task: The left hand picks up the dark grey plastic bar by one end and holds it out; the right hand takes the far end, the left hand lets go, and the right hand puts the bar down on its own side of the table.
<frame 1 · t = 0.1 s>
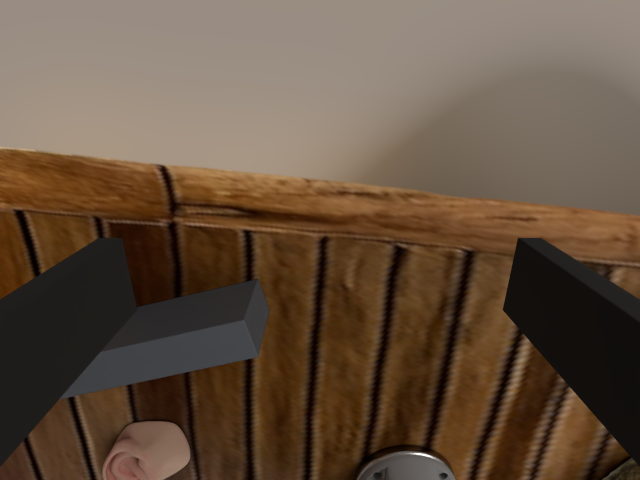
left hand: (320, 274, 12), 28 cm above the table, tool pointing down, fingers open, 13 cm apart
anatomical model: (150, 450, 54), on the table
bar: (167, 316, 45), on the table
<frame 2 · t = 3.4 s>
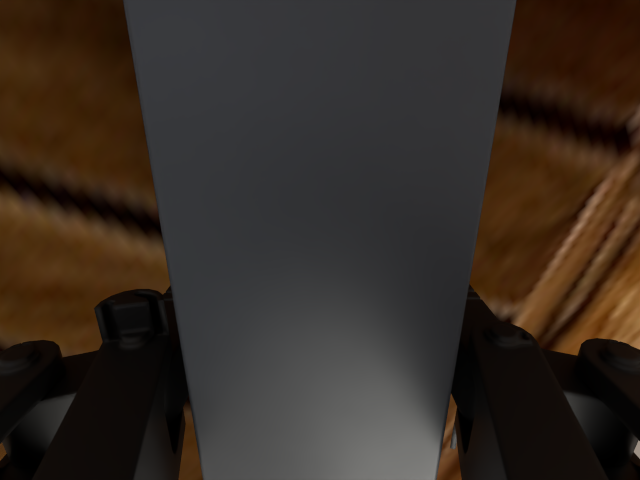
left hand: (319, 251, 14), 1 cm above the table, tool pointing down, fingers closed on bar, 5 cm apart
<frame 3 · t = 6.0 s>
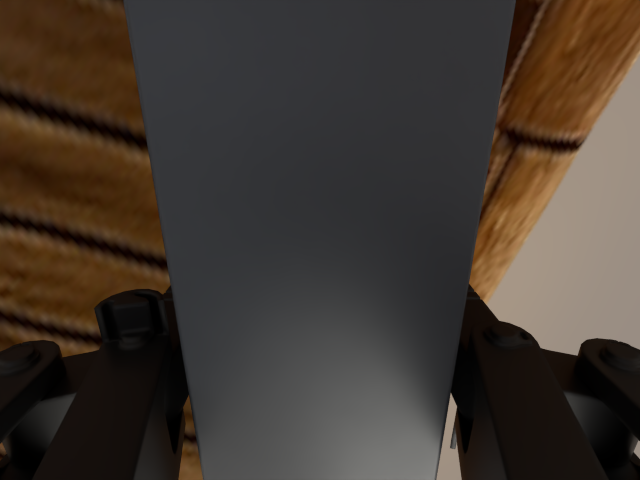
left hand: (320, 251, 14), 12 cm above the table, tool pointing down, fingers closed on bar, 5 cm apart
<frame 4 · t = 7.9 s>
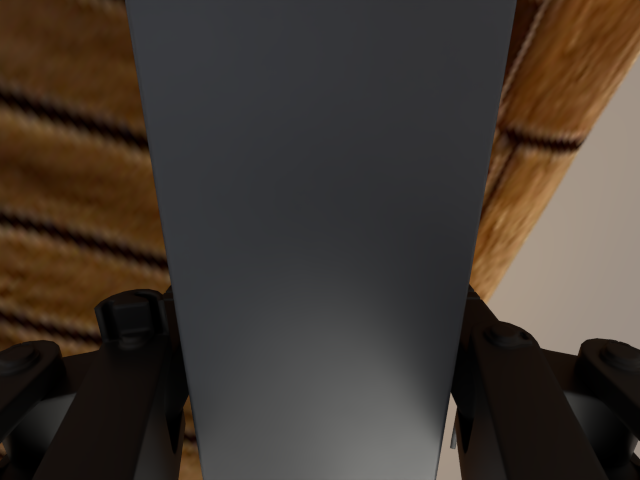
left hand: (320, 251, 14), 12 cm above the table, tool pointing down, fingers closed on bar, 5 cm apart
when the left hand's fingers open (12 cm above the table, at t = 8.6 s): bar stays where it is, held by the right hand.
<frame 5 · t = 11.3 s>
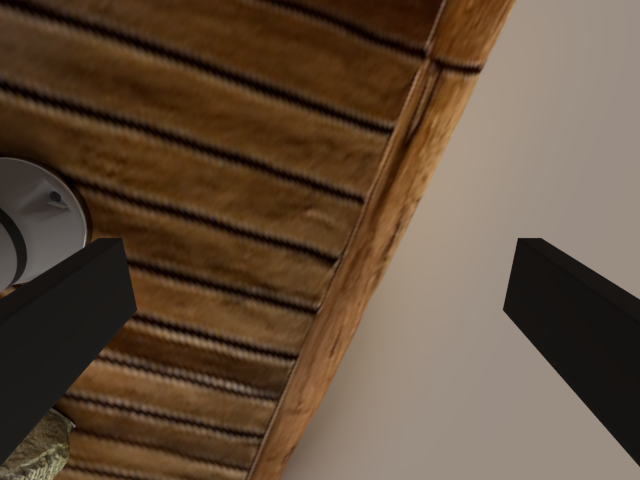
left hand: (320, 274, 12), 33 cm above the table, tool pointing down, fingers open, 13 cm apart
fossil: (29, 410, 57), on the table
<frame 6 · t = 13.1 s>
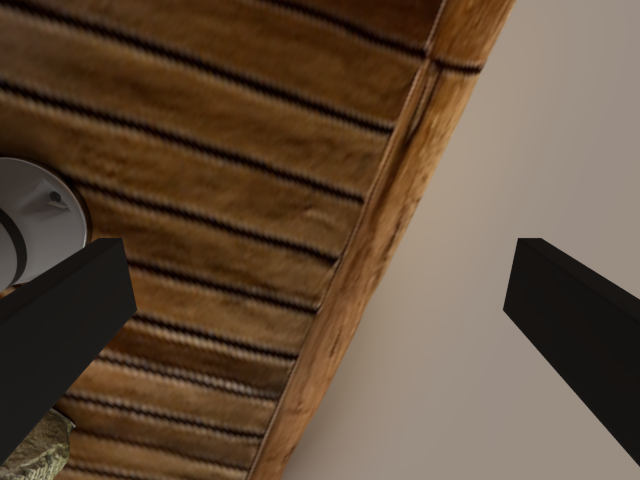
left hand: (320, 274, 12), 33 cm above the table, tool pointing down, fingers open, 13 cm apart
fossil: (29, 410, 57), on the table
when the right hand's fingers open (2 cm above the table, at t = 14.7 s): bar drops 2 cm, on the table.
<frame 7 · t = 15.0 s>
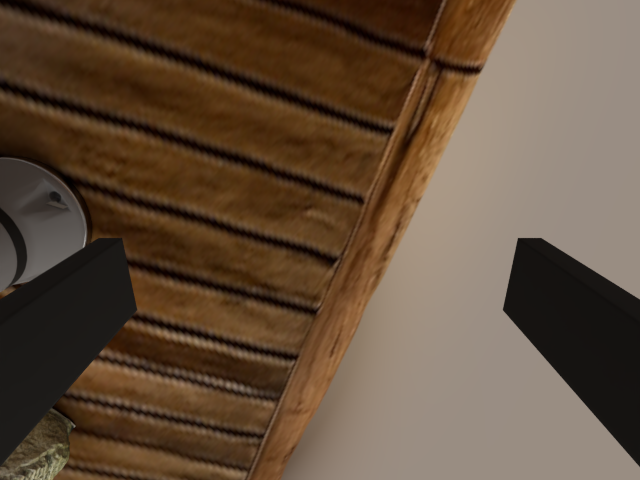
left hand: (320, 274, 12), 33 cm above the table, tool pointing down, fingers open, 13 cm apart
fossil: (29, 410, 57), on the table
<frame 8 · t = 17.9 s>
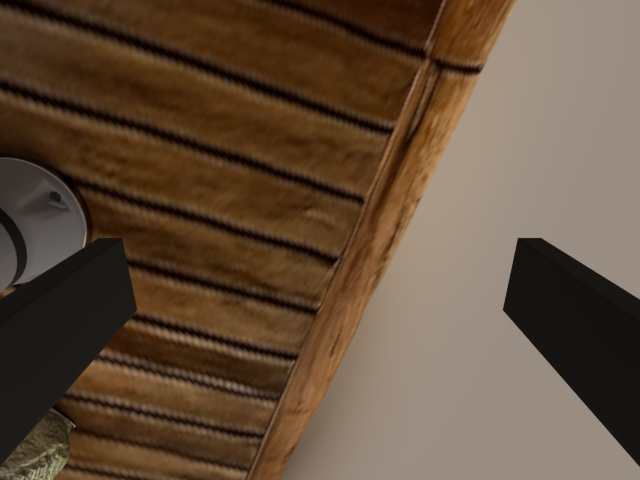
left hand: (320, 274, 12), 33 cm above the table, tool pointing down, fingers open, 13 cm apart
fossil: (29, 410, 57), on the table
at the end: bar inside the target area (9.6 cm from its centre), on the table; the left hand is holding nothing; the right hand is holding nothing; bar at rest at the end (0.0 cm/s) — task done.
